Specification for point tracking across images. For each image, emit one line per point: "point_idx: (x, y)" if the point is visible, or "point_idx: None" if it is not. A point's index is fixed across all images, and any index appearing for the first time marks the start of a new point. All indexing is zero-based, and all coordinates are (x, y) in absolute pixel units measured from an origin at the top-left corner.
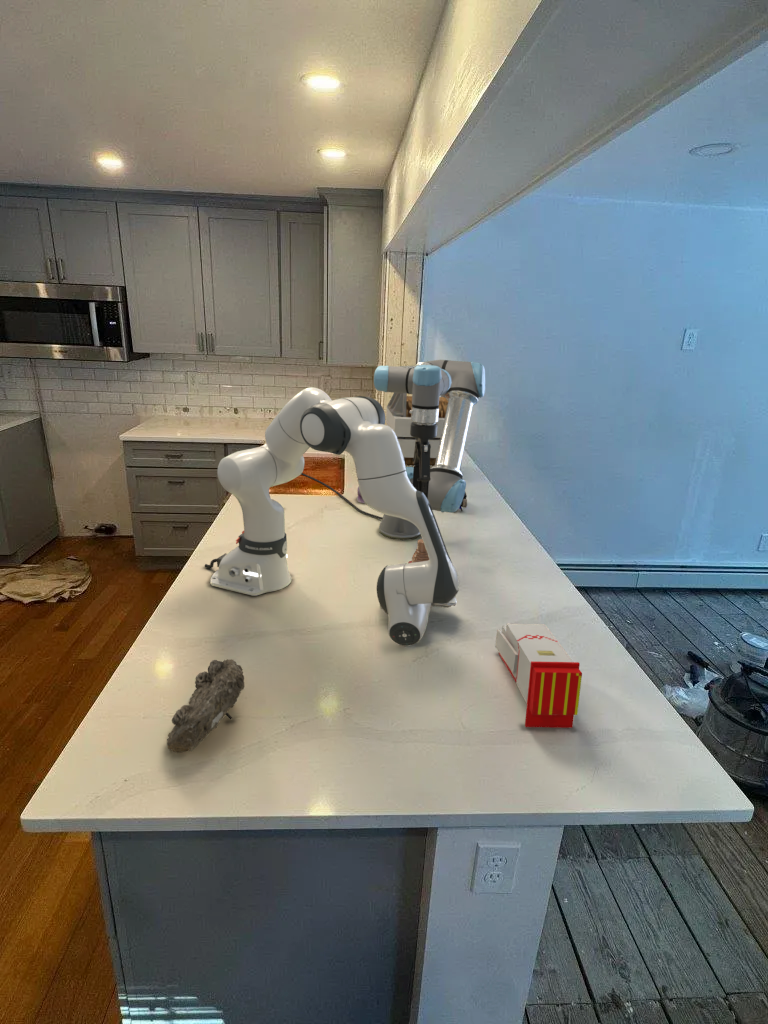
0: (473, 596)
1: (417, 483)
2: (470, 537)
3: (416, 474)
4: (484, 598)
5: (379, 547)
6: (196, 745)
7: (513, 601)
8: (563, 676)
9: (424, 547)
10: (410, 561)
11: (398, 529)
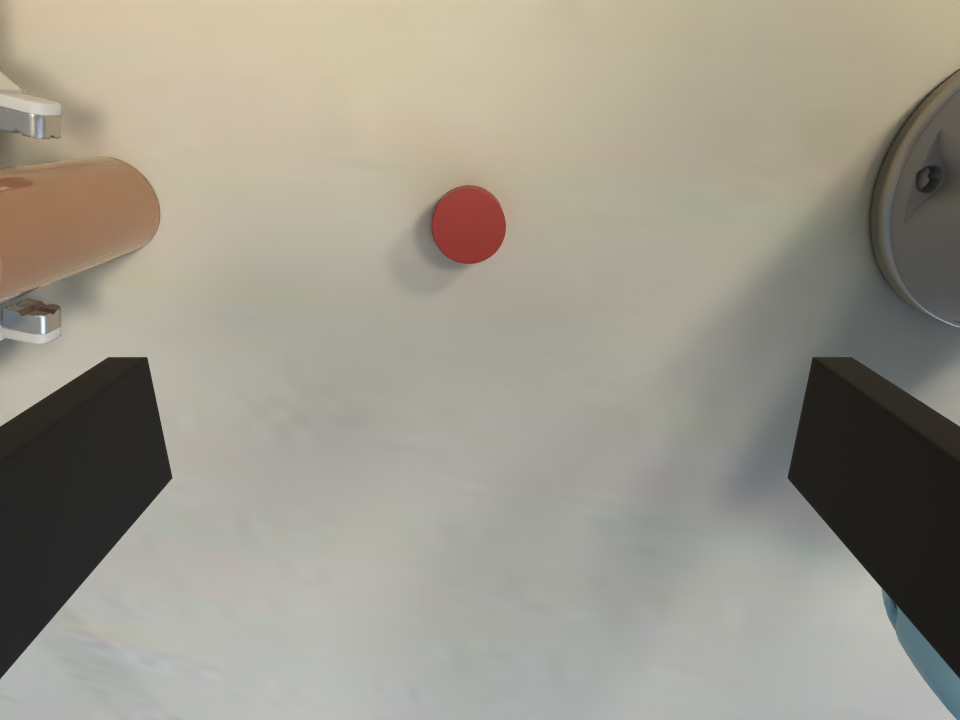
0: (206, 455)
1: (835, 454)
2: (848, 551)
3: (954, 529)
4: (196, 493)
5: (789, 24)
6: None
7: (193, 587)
8: None
9: None
10: (491, 205)
11: (953, 170)
